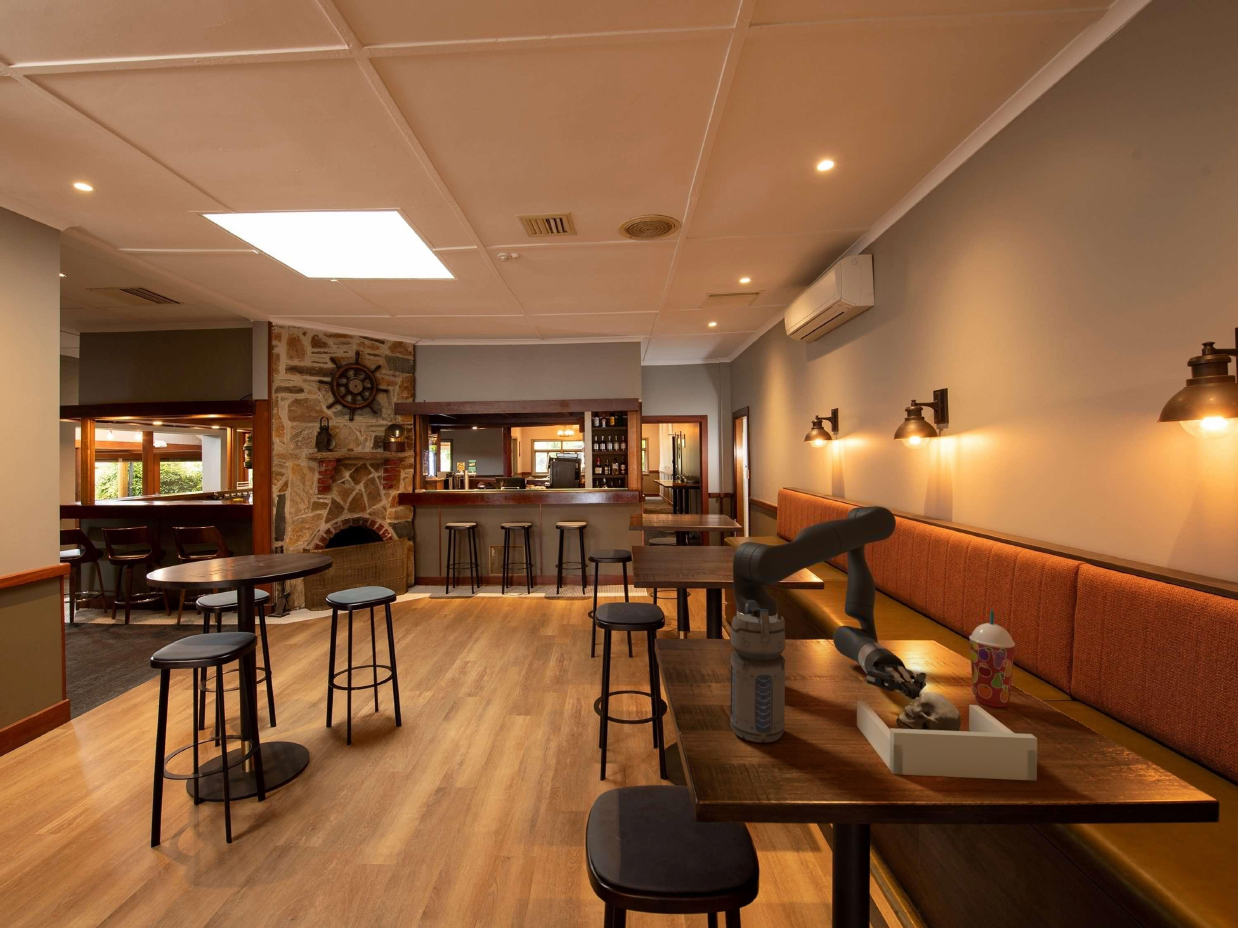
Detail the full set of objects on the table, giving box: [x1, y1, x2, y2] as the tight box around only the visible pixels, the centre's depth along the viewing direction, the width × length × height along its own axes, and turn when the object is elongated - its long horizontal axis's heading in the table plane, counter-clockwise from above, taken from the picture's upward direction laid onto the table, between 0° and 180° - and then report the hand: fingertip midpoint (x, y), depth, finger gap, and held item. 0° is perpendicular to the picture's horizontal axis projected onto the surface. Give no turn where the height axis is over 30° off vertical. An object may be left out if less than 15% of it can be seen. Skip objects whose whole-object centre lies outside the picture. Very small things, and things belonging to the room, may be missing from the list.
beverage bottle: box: [729, 600, 786, 744], centre depth 110 cm, size 10×13×25 cm
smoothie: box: [968, 610, 1016, 708], centre depth 124 cm, size 8×8×20 cm
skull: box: [895, 691, 962, 731], centre depth 111 cm, size 12×10×10 cm
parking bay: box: [856, 700, 1038, 782], centre depth 103 cm, size 23×18×7 cm
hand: (915, 694), depth 113 cm, fingers closed
